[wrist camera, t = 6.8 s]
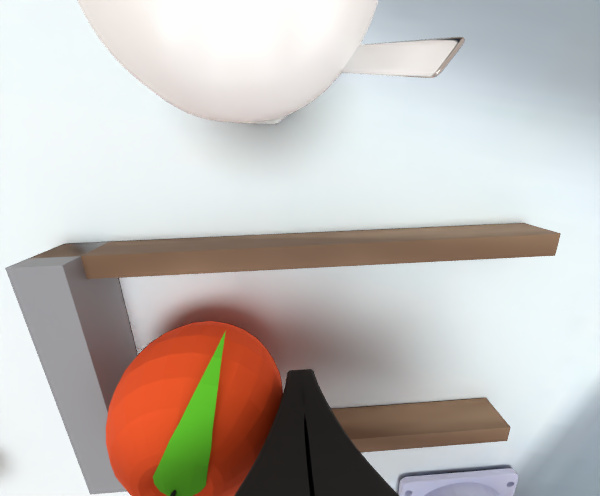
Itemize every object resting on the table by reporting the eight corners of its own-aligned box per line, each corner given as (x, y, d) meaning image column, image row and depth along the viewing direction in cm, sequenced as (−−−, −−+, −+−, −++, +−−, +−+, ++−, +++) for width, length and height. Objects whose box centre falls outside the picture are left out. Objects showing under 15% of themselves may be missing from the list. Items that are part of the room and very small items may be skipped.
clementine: (171, 258, 14) (64, 358, 7) (307, 296, 15) (327, 415, 8) (143, 387, 16) (42, 556, 9) (263, 412, 17) (250, 581, 10)
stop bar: (157, 434, 17) (131, 490, 14) (122, 437, 17) (90, 494, 14) (109, 241, 13) (62, 265, 11) (64, 243, 13) (5, 268, 10)
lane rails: (483, 410, 18) (507, 440, 16) (122, 437, 17) (102, 472, 15) (523, 222, 14) (560, 233, 12) (64, 243, 13) (28, 258, 11)
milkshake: (291, 174, 13) (315, 233, 3) (185, 93, 12) (-225, -162, 2) (356, 85, 12) (639, -179, 2) (249, -15, 11) (-5, -1270, 1)
